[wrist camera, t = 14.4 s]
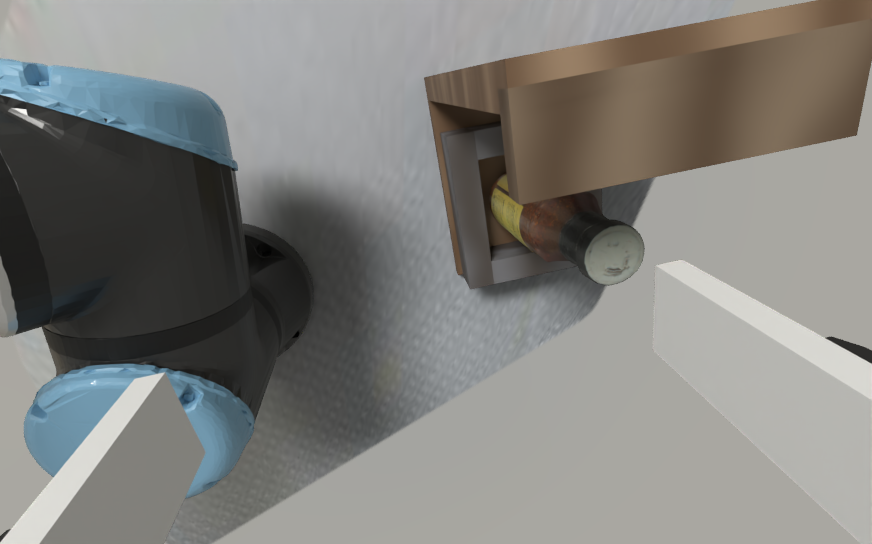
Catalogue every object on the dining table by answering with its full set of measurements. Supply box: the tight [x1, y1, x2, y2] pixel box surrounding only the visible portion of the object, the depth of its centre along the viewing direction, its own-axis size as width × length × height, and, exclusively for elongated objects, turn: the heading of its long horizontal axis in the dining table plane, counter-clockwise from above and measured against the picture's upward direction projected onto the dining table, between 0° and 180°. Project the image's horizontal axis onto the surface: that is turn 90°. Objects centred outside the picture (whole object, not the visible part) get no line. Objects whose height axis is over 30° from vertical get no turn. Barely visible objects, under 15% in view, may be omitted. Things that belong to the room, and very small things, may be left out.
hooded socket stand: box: [424, 0, 872, 289], centre depth 33 cm, size 15×20×28 cm
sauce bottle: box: [489, 173, 644, 285], centre depth 37 cm, size 6×6×20 cm
